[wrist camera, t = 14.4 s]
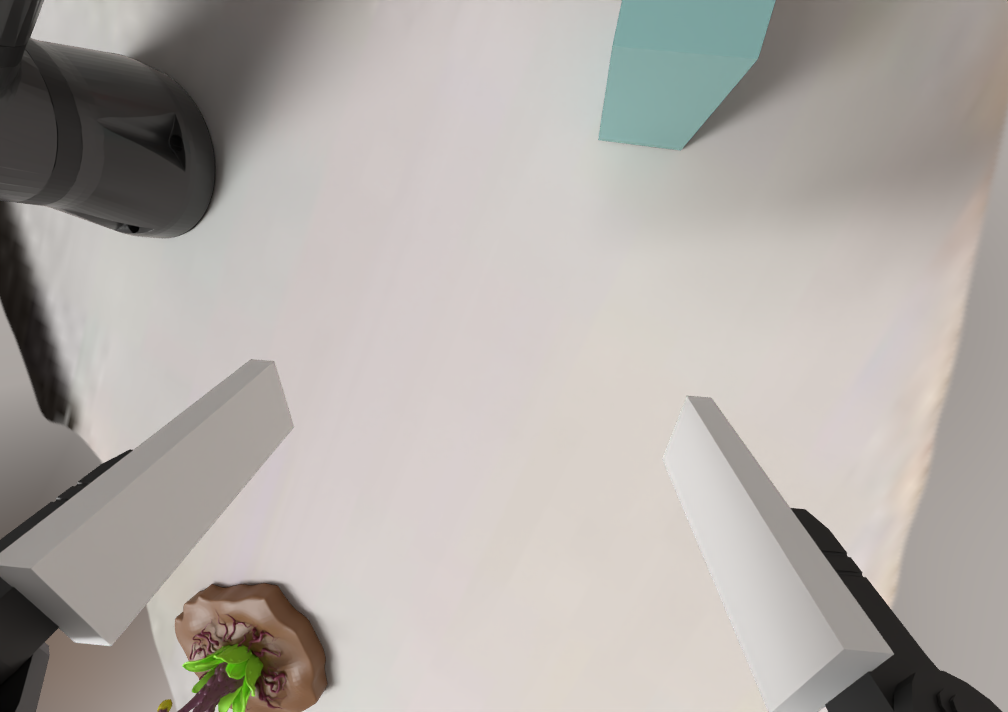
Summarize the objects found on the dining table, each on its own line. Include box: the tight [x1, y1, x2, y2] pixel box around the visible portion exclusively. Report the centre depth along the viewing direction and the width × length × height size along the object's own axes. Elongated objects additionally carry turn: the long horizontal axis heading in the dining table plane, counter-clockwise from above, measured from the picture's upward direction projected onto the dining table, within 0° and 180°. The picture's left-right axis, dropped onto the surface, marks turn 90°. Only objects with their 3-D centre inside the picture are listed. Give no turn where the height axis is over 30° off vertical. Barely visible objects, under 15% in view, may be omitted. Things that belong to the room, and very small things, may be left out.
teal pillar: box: [598, 0, 776, 150], centre depth 20 cm, size 8×6×12 cm
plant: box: [157, 583, 327, 712], centre depth 43 cm, size 20×20×11 cm
